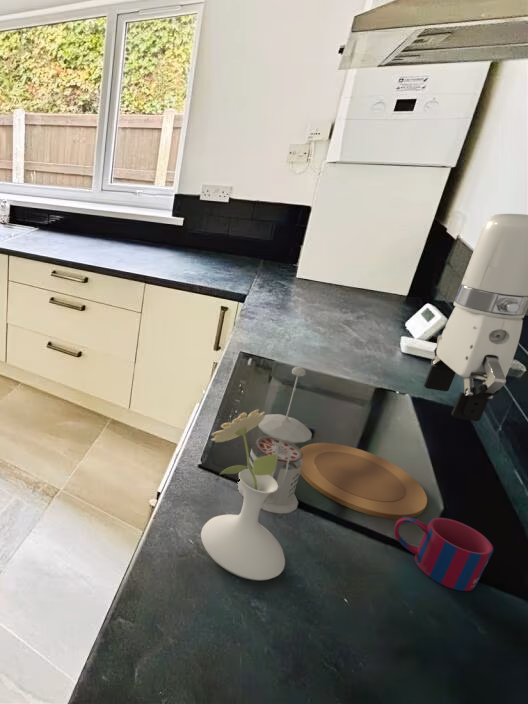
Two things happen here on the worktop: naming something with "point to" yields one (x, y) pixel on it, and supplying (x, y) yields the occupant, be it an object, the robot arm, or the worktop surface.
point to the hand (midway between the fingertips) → (449, 402)
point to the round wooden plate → (362, 481)
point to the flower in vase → (246, 514)
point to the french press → (281, 455)
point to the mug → (449, 552)
